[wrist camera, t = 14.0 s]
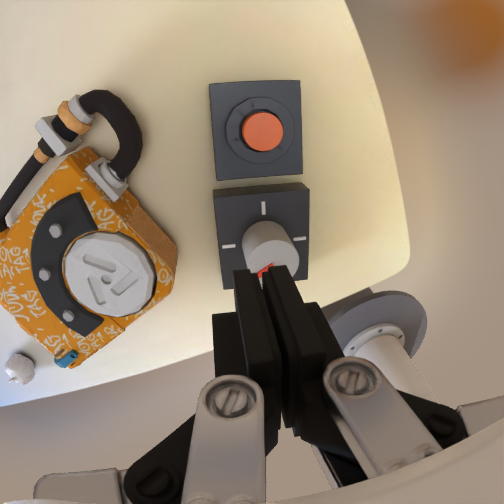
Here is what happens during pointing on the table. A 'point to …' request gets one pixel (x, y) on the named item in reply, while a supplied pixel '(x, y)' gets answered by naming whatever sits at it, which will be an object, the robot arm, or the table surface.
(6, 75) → the table surface
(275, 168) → the button block
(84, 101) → the device
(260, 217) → the timer panel
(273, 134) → the power button
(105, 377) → the table surface
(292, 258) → the timer dial
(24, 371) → the garlic
